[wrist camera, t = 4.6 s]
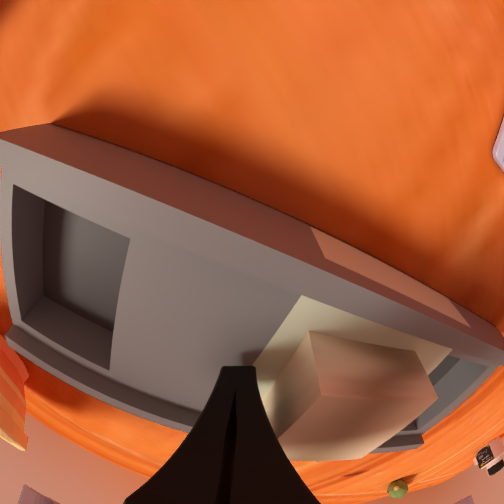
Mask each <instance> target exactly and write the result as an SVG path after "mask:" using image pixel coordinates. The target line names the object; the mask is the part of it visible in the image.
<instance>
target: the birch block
mask: <svg viewBox="0 0 504 504" xmlns="http://www.w3.org/2000/svg"><path fill="white" fill-rule="evenodd" d="M437 399H438V396H437V394H436V392H435V389H434V387H433V385H432V383H431V381H430V379H429V377H428V375H427V373H426V371H425V369H424V367H423V365H422V363H421V361H420V360H419V358H418V356H417V354H416V352H415V351H410V350H404V349H398V348H392V347H386V346H380V345H375V344H369V343H364V342H359V341H353V340H348V339H343V338H339V337H334V336H329V335H325V334H320V333H315V332H311V331H308V332H307V334H306V336H305V337H304V339H303V340H302V342H301V343H300V345H299V347H298V348H297V350H296V351H295V353H294V354H293V356H292V357H291V359H290V360H289V362H288V363H287V365H286V366H285V368H284V369H283V371H282V372H281V373H280V375H279V376H278V378H277V379H276V381H275V382H274V383H273V385H272V386H271V388H270V389H269V390H268V392H267V393H266V395H265V396H264V397H263V399H262V402H263V405H264V408H265V411H266V414H267V416H268V419H269V421H270V424H271V426H272V428H273V431H274V433H275V435H276V437H277V439H278V441H279V443H280V445H281V447H282V449H283V451H284V452H285V454H286V456H287V458H288V459H289V460H290V461H333V460H350V459H360V458H362V457H363V456H365V455H367V454H368V453H370V452H371V451H373V450H374V449H376V448H377V447H379V446H380V445H382V444H383V443H384V442H386V441H387V440H389V439H390V438H391V437H393V436H394V435H395V434H397V433H398V432H399V431H401V430H402V429H403V428H405V427H406V426H407V425H408V424H410V423H411V422H412V421H413V420H415V419H416V418H417V417H418V416H419V415H420V414H422V413H423V412H424V411H425V410H426V409H427V408H429V407H430V406H431V405H432V404H433V403H434V402H435V401H436V400H437Z"/></svg>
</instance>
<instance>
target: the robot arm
mask: <svg viewBox="0 0 504 504" xmlns="http://www.w3.org/2000/svg"><path fill="white" fill-rule="evenodd" d="M492 154H493V158H494V160H495V162H496V163H497V164H498V166H499V167H500V168H501V170H502V171H503V173H504V118H503V121H502V124H501V127H500V130H499V133H498V136H497V139H496V142H495V144H494V147H493V151H492ZM18 504H59V503H58V502H56V501H54V500H52V499H50V498H48V497H45V496H44V495H42V494H40V493H38V492H37V491H35V490H33V489H32V488H30V487H28V486H27V485H24V486H23V489H22V492H21V495H20V498H19V502H18ZM123 504H321V503H320V502H319V501H318V500H317V499H316V498H315V496H314V495H313V494H312V493H311V491H310V490H309V489H308V487H307V486H306V485H305V483H304V482H303V481H302V479H301V478H300V476H299V475H298V473H297V472H296V470H295V469H294V467H293V466H292V464H291V463H290V461H289V459H288V458H287V456H286V454H285V452H284V451H283V449H282V447H281V445H280V443H279V441H278V439H277V437H276V435H275V433H274V431H273V428H272V426H271V424H270V421H269V419H268V416H267V414H266V411H265V408H264V405H263V402H262V399H261V396H260V392H259V388H258V384H257V376H256V367H254V366H223V367H221V370H220V373H219V376H218V379H217V381H216V384H215V386H214V388H213V391H212V393H211V395H210V397H209V399H208V401H207V403H206V405H205V407H204V409H203V411H202V413H201V414H200V416H199V418H198V419H197V421H196V423H195V424H194V426H193V428H192V429H191V431H190V432H189V434H188V435H187V437H186V438H185V440H184V441H183V442H182V444H181V445H180V446H179V448H178V449H177V450H176V451H175V453H174V454H173V455H172V456H171V457H170V459H169V460H168V461H167V462H166V463H165V464H164V465H163V466H162V467H161V468H160V469H159V470H158V471H157V472H156V473H155V474H154V475H153V476H152V477H151V478H150V479H149V480H148V481H147V482H146V483H145V484H144V485H143V486H141V487H140V488H139V489H138V490H136V491H135V492H134V493H132V494H131V495H130V496H129V497H127V498H126V499H125V501H124V503H123ZM455 504H474V503H473V499H472V496H468V497H466V498H464V499H462V500H460V501H458V502H457V503H455Z"/></svg>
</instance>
